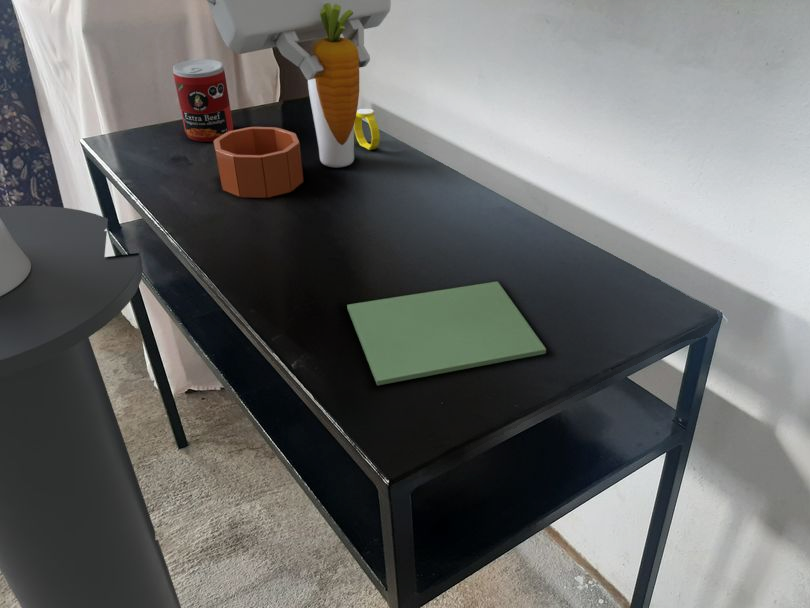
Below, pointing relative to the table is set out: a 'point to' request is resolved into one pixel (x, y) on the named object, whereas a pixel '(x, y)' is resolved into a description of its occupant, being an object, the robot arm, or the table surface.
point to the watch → (373, 126)
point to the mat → (441, 332)
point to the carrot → (337, 74)
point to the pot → (259, 161)
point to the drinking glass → (329, 136)
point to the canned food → (203, 99)
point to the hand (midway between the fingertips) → (340, 70)
